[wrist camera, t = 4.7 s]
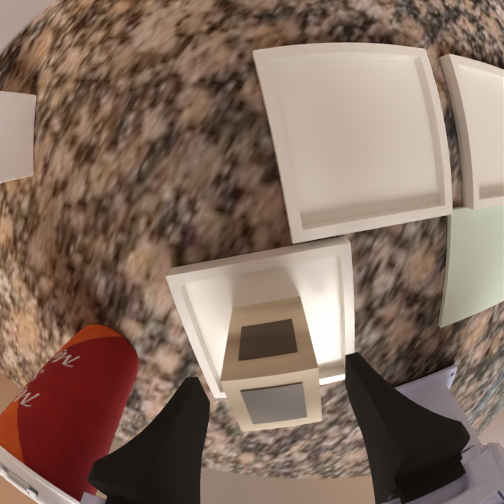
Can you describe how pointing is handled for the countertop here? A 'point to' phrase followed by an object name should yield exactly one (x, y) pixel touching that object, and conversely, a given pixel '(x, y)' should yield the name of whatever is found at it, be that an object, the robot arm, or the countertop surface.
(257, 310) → the letter block
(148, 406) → the countertop surface
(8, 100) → the milk
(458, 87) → the dish
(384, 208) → the dish
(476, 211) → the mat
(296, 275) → the dish
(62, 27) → the countertop surface
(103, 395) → the paper cup
